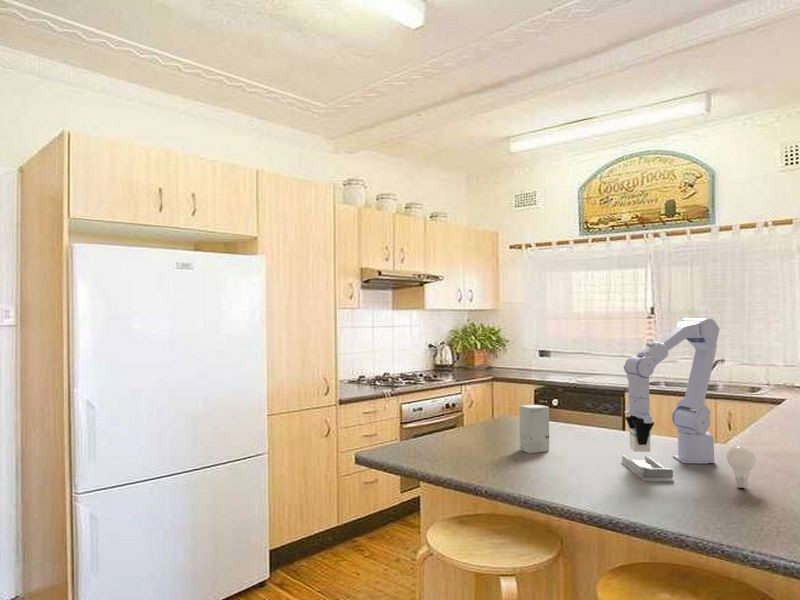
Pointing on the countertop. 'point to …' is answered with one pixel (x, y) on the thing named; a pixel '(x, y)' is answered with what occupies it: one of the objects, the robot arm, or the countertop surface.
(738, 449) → the lightbulb
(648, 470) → the rail plate
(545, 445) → the skincare box
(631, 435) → the block
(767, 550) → the countertop surface
